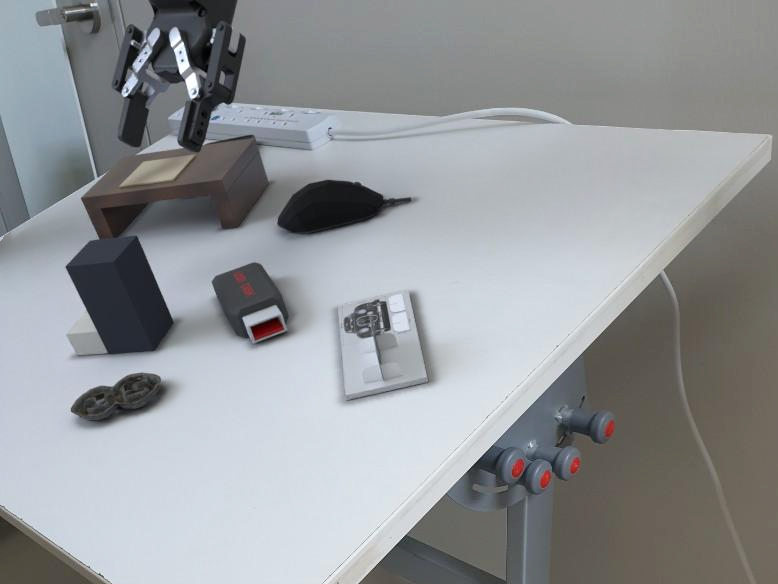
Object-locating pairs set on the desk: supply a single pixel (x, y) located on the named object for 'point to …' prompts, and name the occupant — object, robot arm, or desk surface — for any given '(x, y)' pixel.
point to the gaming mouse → (330, 206)
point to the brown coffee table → (178, 184)
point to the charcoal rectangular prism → (116, 299)
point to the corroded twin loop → (117, 396)
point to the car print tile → (380, 345)
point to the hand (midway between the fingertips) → (157, 146)
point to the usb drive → (251, 302)
